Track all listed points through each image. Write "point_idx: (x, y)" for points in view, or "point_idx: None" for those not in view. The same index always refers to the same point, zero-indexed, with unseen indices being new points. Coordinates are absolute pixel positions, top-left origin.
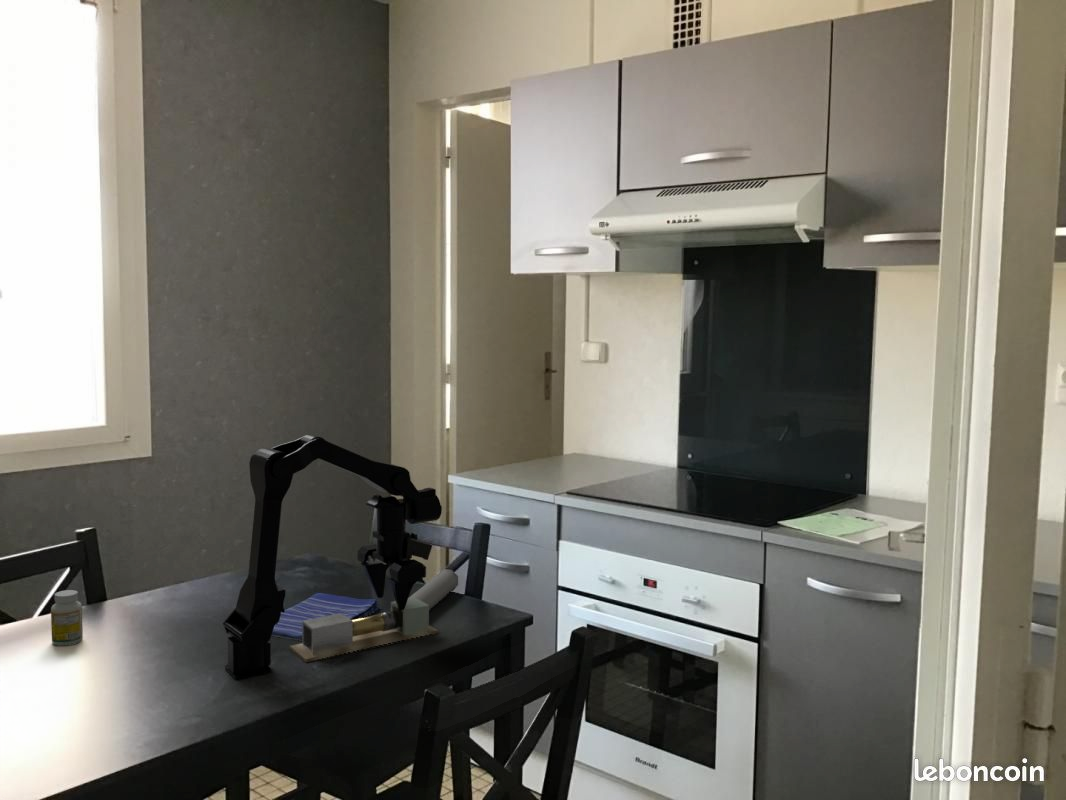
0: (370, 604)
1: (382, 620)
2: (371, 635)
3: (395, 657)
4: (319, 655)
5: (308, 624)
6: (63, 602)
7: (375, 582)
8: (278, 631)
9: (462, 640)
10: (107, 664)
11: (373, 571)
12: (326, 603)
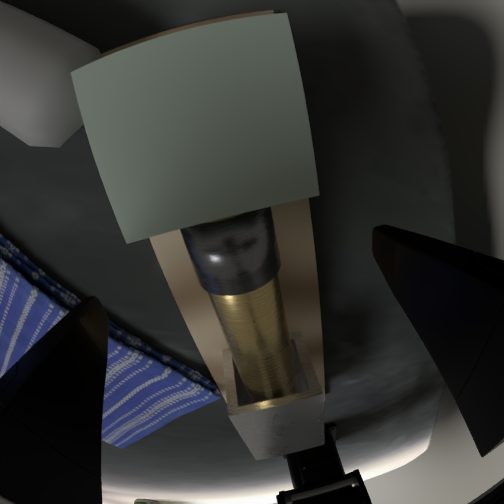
0: None
1: (276, 281)
2: None
3: (412, 230)
4: (320, 385)
5: (291, 452)
6: None
7: (89, 409)
8: (152, 430)
9: None
10: (218, 495)
11: (77, 484)
12: None
